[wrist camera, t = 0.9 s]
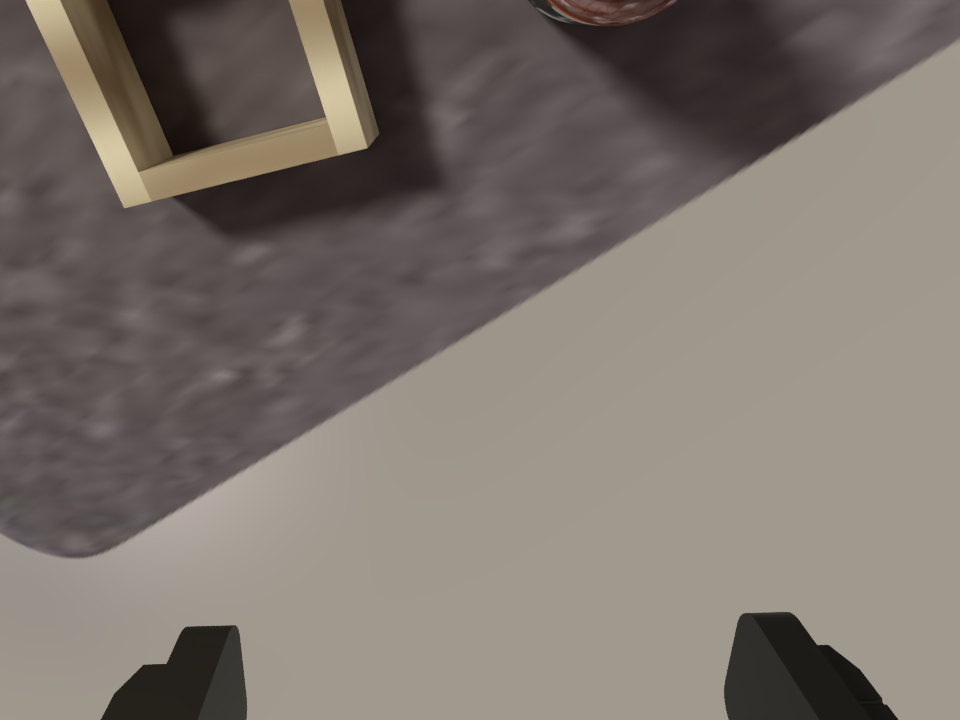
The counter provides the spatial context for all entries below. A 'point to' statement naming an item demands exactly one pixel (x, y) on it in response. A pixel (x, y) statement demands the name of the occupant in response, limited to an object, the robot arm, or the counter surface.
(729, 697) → the robot arm
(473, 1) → the counter surface
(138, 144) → the wooden socket
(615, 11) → the supplement bottle
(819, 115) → the counter surface
